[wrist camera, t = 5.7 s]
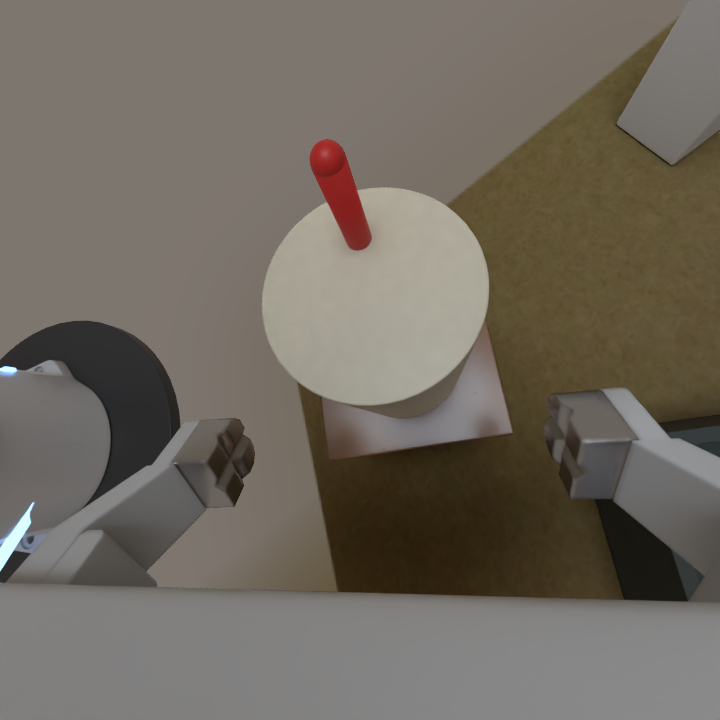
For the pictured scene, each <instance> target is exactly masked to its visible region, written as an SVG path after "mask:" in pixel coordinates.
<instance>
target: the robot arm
mask: <svg viewBox="0 0 720 720" xmlns="http://www.w3.org/2000/svg"><path fill="white" fill-rule="evenodd" d="M547 407H548V409H549V411H550V413H551V416H550V417H548V418H547V419H546V420H545V438H546V444H547V447H548V450H549V453H550V455H551V457H552V459H553V460H555V461H556V462H558V463H559V464H560V471H559V475H560V477H561V480H562V482H563V484H564V486H565V488H566V490H567V493H568V495H569V497H570V499H613V501H614V502H615V503H616V504H617V505H618V506H620V507H621V508H622V509H623V510H625V511H626V512H627V513H628V514H629V515H631V516H632V517H633V518H634V519H636V520H637V521H638V522H639V523H640V524H642V525H643V526H644V527H645V528H646V529H648V530H649V531H650V532H651V533H653V534H654V535H655V536H656V537H657V538H659V539H660V540H661V541H662V542H664V543H665V544H666V545H667V546H668V547H670V548H671V549H672V550H673V551H674V552H676V553H677V554H678V555H679V556H681V557H682V558H683V559H684V560H685V561H687V562H688V563H689V564H690V565H691V566H693V567H694V568H695V569H696V570H698V571H699V572H700V573H701V574H702V575H704V577H703V579H702V580H701V582H700V583H699V585H698V586H697V588H696V589H695V591H694V592H693V594H692V596H691V597H690V599H689V602H684V601H648V600H612V599H575V598H539V597H503V596H467V595H431V594H395V593H359V592H322V591H285V590H284V591H283V590H247V589H244V590H243V589H208V588H169V587H157V583H156V581H155V580H154V579H153V578H152V577H151V576H150V575H149V574H148V573H147V572H146V571H147V570H148V569H149V568H150V567H151V566H152V565H153V564H154V563H155V562H156V561H157V560H158V559H159V558H160V557H161V556H162V555H163V554H164V553H165V552H166V551H167V550H168V549H169V548H170V547H171V545H172V544H173V543H175V541H177V539H178V538H179V537H180V536H181V535H182V534H183V533H184V532H185V531H186V530H187V529H188V528H189V527H190V526H191V525H192V524H193V523H194V522H195V521H196V520H197V519H198V518H199V517H200V516H201V515H202V514H203V513H204V512H205V511H206V508H222V507H235V505H236V502H237V500H238V498H239V496H240V493H241V491H242V489H243V487H244V484H243V480H242V478H244V477H245V476H246V475H247V474H248V473H250V471H251V469H252V466H253V464H254V456H255V452H254V447H253V444H252V442H251V440H250V439H249V438H248V437H246V436H245V435H243V431H244V426H243V425H242V423H241V421H240V420H239V419H235V418H229V419H210V420H199V421H188V422H186V423H184V424H183V425H182V426H181V427H180V429H179V430H178V431H177V433H176V434H175V435H174V437H173V438H172V439H171V441H170V442H169V443H168V445H167V446H166V447H165V449H164V450H163V451H162V452H161V454H160V455H159V456H158V458H157V459H156V460H155V462H154V463H153V464H152V465H150V466H146V467H144V468H143V469H141V470H140V471H138V472H137V473H135V474H134V475H132V476H131V477H129V478H128V479H126V480H125V481H123V482H122V483H120V484H119V485H117V486H116V487H114V488H113V489H111V490H110V491H108V492H107V493H105V494H104V495H102V496H101V497H99V498H98V499H96V500H95V501H93V502H92V503H90V504H89V505H87V506H86V507H84V506H85V505H86V504H87V503H88V502H89V500H90V499H91V498H92V496H93V495H94V493H95V492H96V490H97V488H98V487H99V485H100V483H101V480H102V478H103V476H104V473H105V470H106V467H107V464H108V459H109V454H110V446H111V432H110V424H109V419H108V416H107V413H106V410H105V408H104V405H103V404H102V402H101V400H100V399H99V397H98V396H97V395H96V394H95V393H94V392H93V391H92V390H91V389H90V388H88V387H87V386H85V385H84V384H82V383H80V382H79V381H77V380H76V379H75V378H74V377H73V375H72V373H71V372H70V370H69V368H68V367H67V365H66V364H65V363H64V362H62V361H56V360H48V361H45V362H43V363H41V364H39V365H37V366H35V367H32V368H30V369H28V370H26V371H25V370H16V368H13V367H6V366H5V367H3V368H0V571H1V569H2V568H3V566H4V564H5V563H6V561H7V560H8V558H9V557H10V555H11V553H12V552H13V551H20V552H26V553H31V554H30V555H29V556H28V557H27V559H26V560H25V561H24V562H23V563H22V564H21V565H20V567H19V568H18V569H17V570H16V571H15V572H14V573H13V575H12V576H11V577H10V578H9V579H8V580H7V581H6V582H5V583H0V720H720V457H717V456H715V455H713V454H711V453H709V452H707V451H705V450H703V449H701V448H699V447H697V446H694V445H692V444H690V443H688V442H686V441H684V440H682V439H680V438H674V439H671V438H670V437H669V436H668V435H667V434H666V432H665V431H664V430H663V429H662V428H661V427H660V426H659V424H658V423H657V422H656V421H655V420H654V419H653V418H652V416H651V415H650V414H649V413H648V412H647V411H646V410H645V408H644V407H643V406H642V405H641V404H640V403H639V402H638V400H637V399H636V398H635V397H634V396H633V395H632V394H631V392H630V391H629V390H628V389H626V388H624V387H616V388H605V389H598V390H588V391H576V392H564V393H552V394H550V396H549V398H548V404H547ZM83 507H84V508H83ZM82 508H83V509H82Z"/></svg>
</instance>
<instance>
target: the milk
mask: <svg viewBox="0 0 720 720" xmlns="http://www.w3.org/2000/svg"><path fill="white" fill-rule="evenodd" d="M616 124H617V125H618V126H619V127H620V128H622V129H623V130H624V131H626V132H627V133H628V134H630V135H631V136H633V137H634V138H635V139H637V140H638V141H639V142H641V143H642V144H643V145H645V146H646V147H647V148H649V149H650V150H651V151H653V152H654V153H655V154H657V155H658V156H660V157H661V158H662V159H664V160H665V161H666V162H668V163H669V164H670V165H674V164H675V163H677V162H678V161H679V160H681V159H682V158H683V157H685V156H686V155H687V154H689V153H690V152H691V151H693V150H694V149H695V148H696V147H698V146H699V145H700V144H702V143H703V142H704V141H706V140H707V139H708V138H710V137H711V136H712V135H714V134H715V133H716V132H718V131H719V130H720V0H689V1H688V3H687V5H686V6H685V8H684V10H683V11H682V13H681V15H680V16H679V18H678V20H677V21H676V23H675V25H674V26H673V28H672V30H671V31H670V33H669V35H668V37H667V38H666V40H665V42H664V43H663V45H662V47H661V48H660V50H659V52H658V53H657V55H656V57H655V59H654V60H653V62H652V64H651V65H650V67H649V69H648V70H647V72H646V74H645V75H644V77H643V79H642V80H641V82H640V84H639V86H638V87H637V89H636V91H635V92H634V94H633V96H632V97H631V99H630V101H629V102H628V104H627V106H626V108H625V109H624V111H623V113H622V114H621V116H620V118H619V119H618V121H617V123H616Z"/></svg>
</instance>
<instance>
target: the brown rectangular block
mask: <svg viewBox="0 0 720 720" xmlns="http://www.w3.org/2000/svg"><path fill="white" fill-rule="evenodd" d="M320 397H321V396H320ZM321 405H322V413H323V421H324V429H325V437H326V445H327V453H328V460H329V461H336V460H342V459H349V458H356V457H363V456H370V455H376V454H383V453H390V452H397V451H404V450H410V449H417V448H424V447H431V446H438V445H444V444H451V443H458V442H465V441H472V440H479V439H485V438H492V437H499V436H506V435H512V434H514V430H513V426H512V422H511V417H510V413H509V409H508V405H507V401H506V397H505V393H504V389H503V385H502V381H501V377H500V373H499V369H498V365H497V361H496V357H495V353H494V349H493V345H492V341H491V337H490V333H489V329H488V325H487V321H486V317H485V320H484V324H483V326H482V328H481V331H480V333H479V336H478V338H477V340H476V342H475V344H474V347H473V349H472V351H471V353H470V355H469V357H468V360H467V362H466V364H465V366H464V368H463V370H462V373H461V375H460V377H459V379H458V381H457V383H456V385H455V387H454V389H453V391H452V392H451V393H450V395H449V396H448V397H447V398H446V399H445V400H444V401H443V402H442V403H441V404H440V405H439V406H437V407H436V408H434V409H433V410H431V411H429V412H427V413H424V414H422V415H419V416H415V417H409V418H394V417H388V416H384V415H381V414H377V413H374V412H370V411H367V410H363V409H359V408H356V407H352V406H349V405H345V404H342V403H338V402H335V401H332V400H329V399H326V398H324V397H321Z"/></svg>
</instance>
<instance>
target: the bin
mask: <svg viewBox="0 0 720 720" xmlns="http://www.w3.org/2000/svg"><path fill="white" fill-rule="evenodd" d="M658 424H659V426H660V427H661V428H662V429H663V430H664V431H665V432H666V434H667V435H668V436H669V437H670V438H671V439H674V438H680V439H682V440H684V441H686V442H688V443H690V444H692V445H694V446H697V447H699V448H701V449H703V450H705V451H707V452H709V453H711V454H713V455H715V456H717V457H720V415H713V416H706V417H699V418H692V419H685V420H678V421H671V422H664V423H658ZM596 501H597V504H598V508H599V511H600V515H601V518H602V522H603V525H604V529H605V532H606V536H607V539H608V543H609V546H610V550H611V553H612V556H613V560H614V563H615V567H616V570H617V574H618V577H619V581H620V584H621V588H622V591H623V595H624V598H625V600H648V601H684V602H689V599H690V597H691V596H692V594H693V592H694V591H695V589H696V588H697V586H698V585H699V583H700V582H701V580H702V579H703V577H704V575H702V574H701V573H700V572H699V571H698V570H696V569H695V568H694V567H693V566H691V565H690V564H689V563H688V562H687V561H685V560H684V559H683V558H682V557H681V556H679V555H678V554H677V553H676V552H674V551H673V550H672V549H671V548H670V547H668V546H667V545H666V544H665V543H664V542H662V541H661V540H660V539H659V538H657V537H656V536H655V535H654V534H653V533H651V532H650V531H649V530H648V529H646V528H645V527H644V526H643V525H642V524H640V523H639V522H638V521H637V520H636V519H634V518H633V517H632V516H631V515H629V514H628V513H627V512H626V511H625V510H623V509H622V508H621V507H620V506H618V505H617V504H616V503H615V502H614V501H613V499H596Z"/></svg>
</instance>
